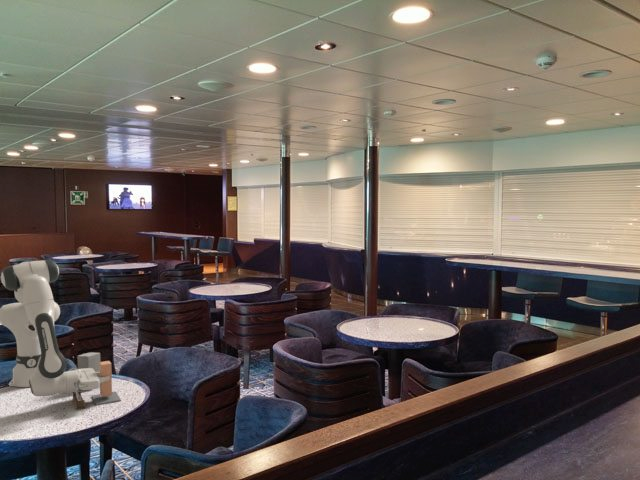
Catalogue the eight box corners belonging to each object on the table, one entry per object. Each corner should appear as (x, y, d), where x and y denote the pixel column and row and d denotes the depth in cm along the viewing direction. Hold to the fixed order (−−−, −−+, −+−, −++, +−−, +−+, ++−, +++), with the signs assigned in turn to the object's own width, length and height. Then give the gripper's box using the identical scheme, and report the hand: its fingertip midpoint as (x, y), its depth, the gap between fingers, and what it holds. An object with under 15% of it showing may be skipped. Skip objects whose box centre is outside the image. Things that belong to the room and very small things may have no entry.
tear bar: (72, 399, 226) (72, 391, 226) (80, 397, 228) (80, 390, 227) (76, 409, 214) (76, 401, 214) (84, 408, 216) (84, 400, 216)
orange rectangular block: (100, 393, 228) (99, 362, 227) (109, 391, 230) (109, 360, 229) (102, 396, 223) (101, 364, 223) (111, 395, 225) (111, 363, 225)
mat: (91, 396, 229) (91, 395, 229) (115, 392, 234) (115, 391, 234) (95, 405, 219) (95, 404, 219) (120, 401, 224) (120, 399, 224)
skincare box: (89, 391, 236) (88, 357, 236) (76, 389, 239) (76, 355, 238) (102, 385, 244) (101, 352, 244) (90, 383, 247) (89, 350, 246)
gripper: (75, 380, 210) (112, 375, 218) (70, 367, 228) (104, 363, 235) (76, 395, 211) (112, 390, 218) (70, 381, 228) (104, 376, 235)
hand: (107, 375), depth 227 cm, fingers closed on orange rectangular block, 5 cm apart
